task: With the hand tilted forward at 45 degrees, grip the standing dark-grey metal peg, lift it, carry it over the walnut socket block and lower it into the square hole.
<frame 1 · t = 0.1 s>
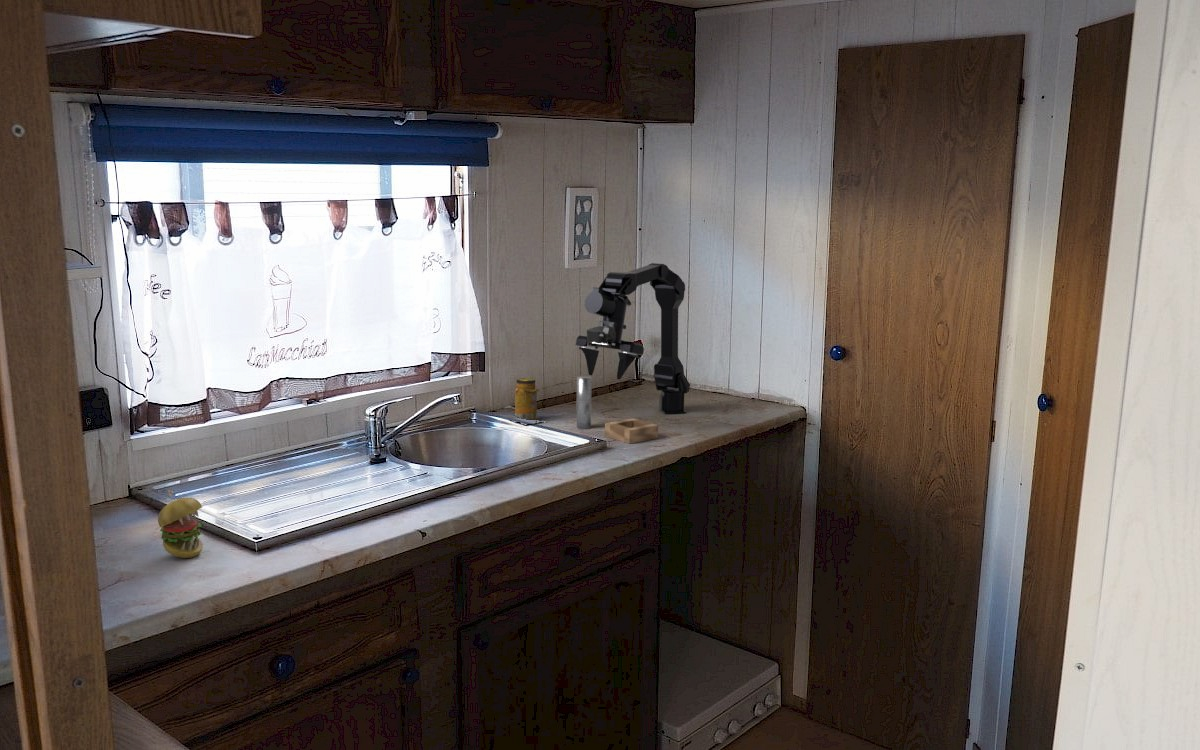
hand: (604, 377, 271), 15 cm above the worktop, tool pointing down, fingers open, 9 cm apart
condiment: (527, 422, 287), on the worktop
peg: (583, 427, 281), on the worktop
hamburger: (182, 556, 183), on the worktop
socket: (631, 437, 271), on the worktop
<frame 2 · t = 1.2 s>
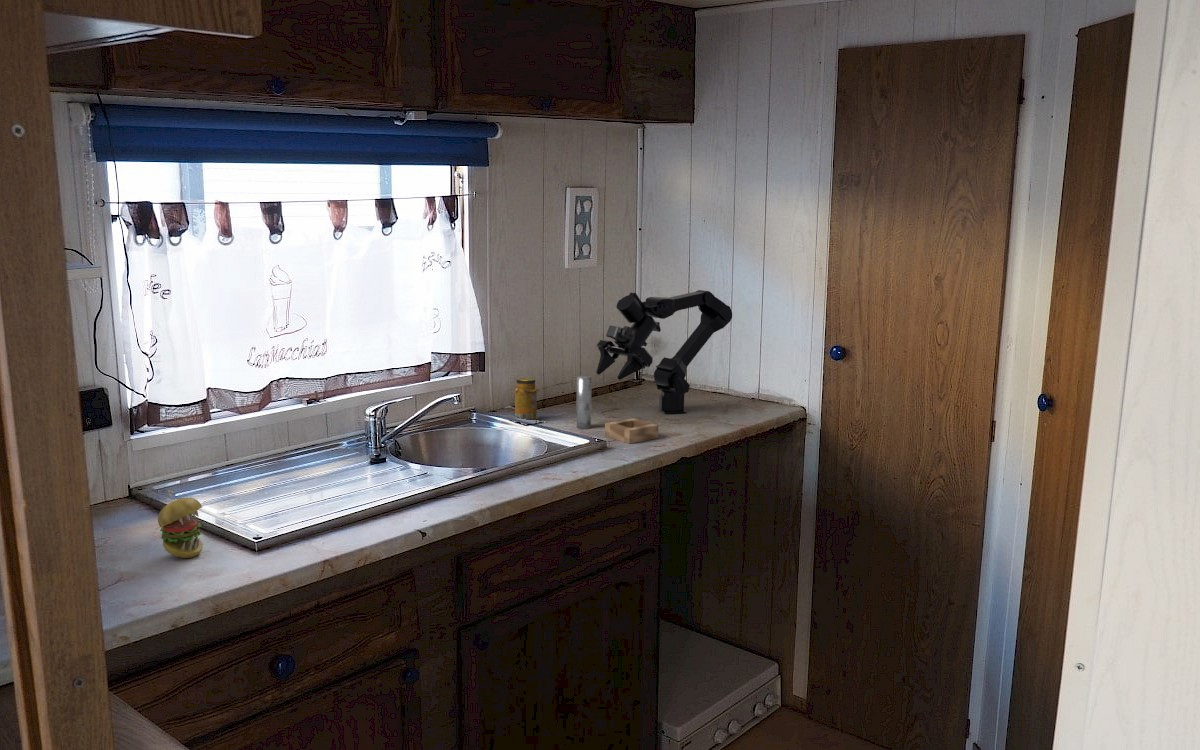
hand: (607, 376, 284), 13 cm above the worktop, tool tilted 45°, fingers open, 9 cm apart
nothing on the worktop moved.
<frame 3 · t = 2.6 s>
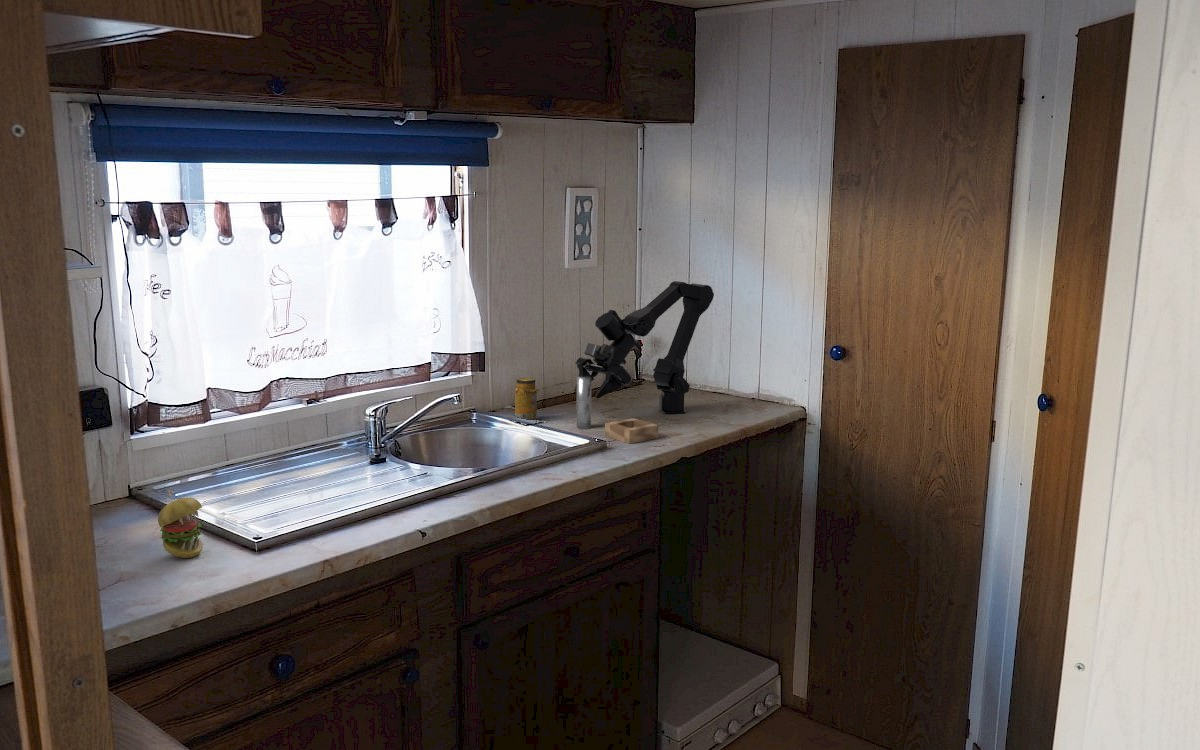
hand: (585, 394, 280), 9 cm above the worktop, tool tilted 45°, fingers open, 9 cm apart
nothing on the worktop moved.
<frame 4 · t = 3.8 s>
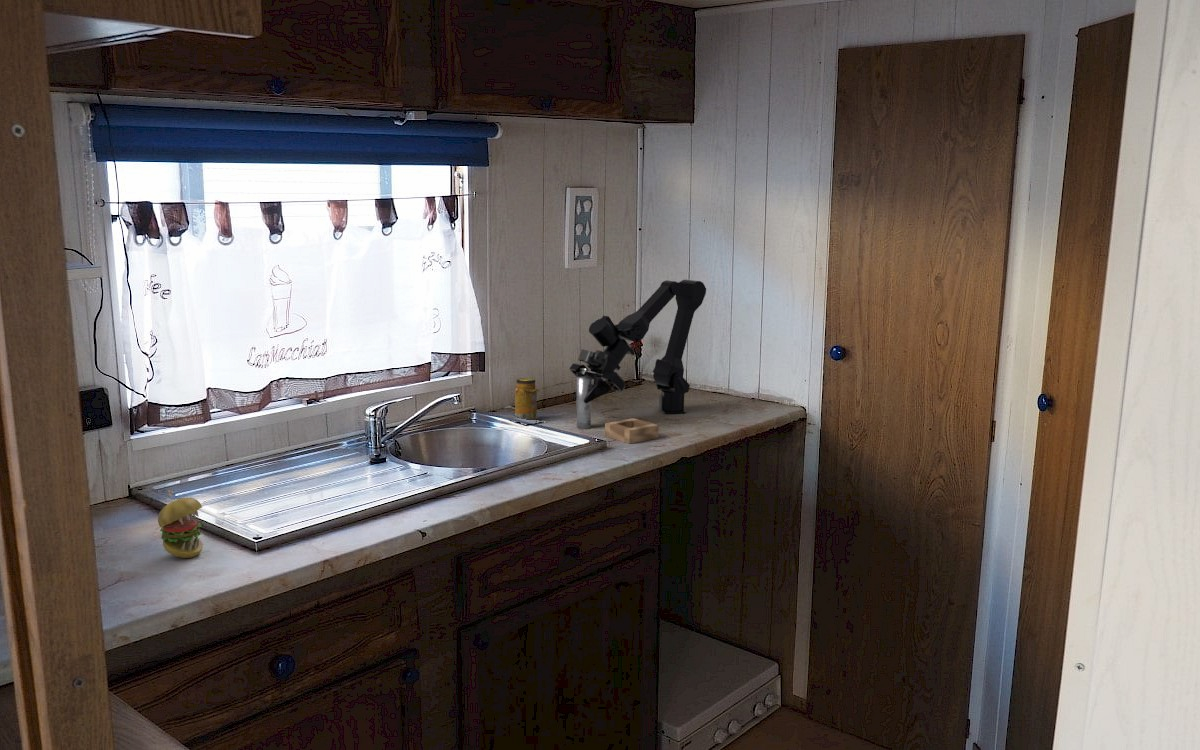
hand: (579, 401, 279), 8 cm above the worktop, tool tilted 45°, fingers closed on peg, 4 cm apart
peg: (583, 427, 281), on the worktop, touching gripper
everything else where it was.
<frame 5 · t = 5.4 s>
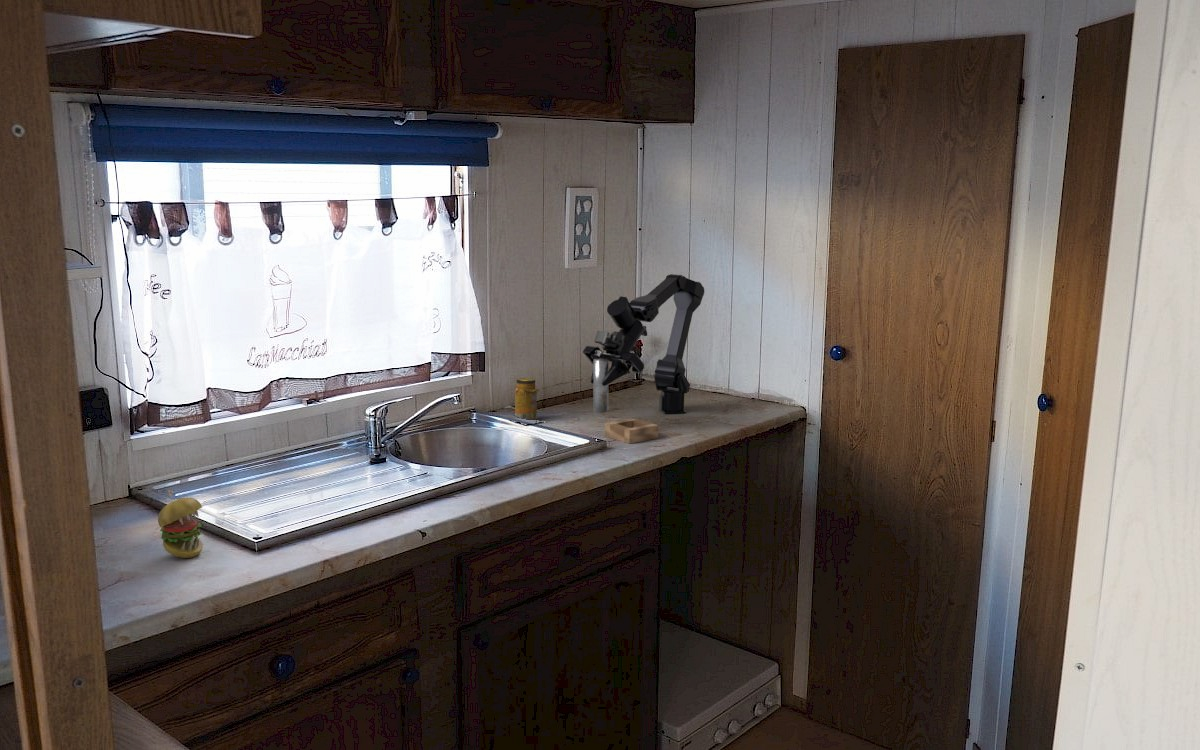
hand: (597, 383, 273), 13 cm above the worktop, tool tilted 45°, fingers closed on peg, 4 cm apart
peg: (600, 410, 275), point 6 cm above the worktop, touching gripper
everything else where it was.
when the fingers open (10 cm above the worktop, at t = 7.1 s): peg drops 2 cm, resting in socket.
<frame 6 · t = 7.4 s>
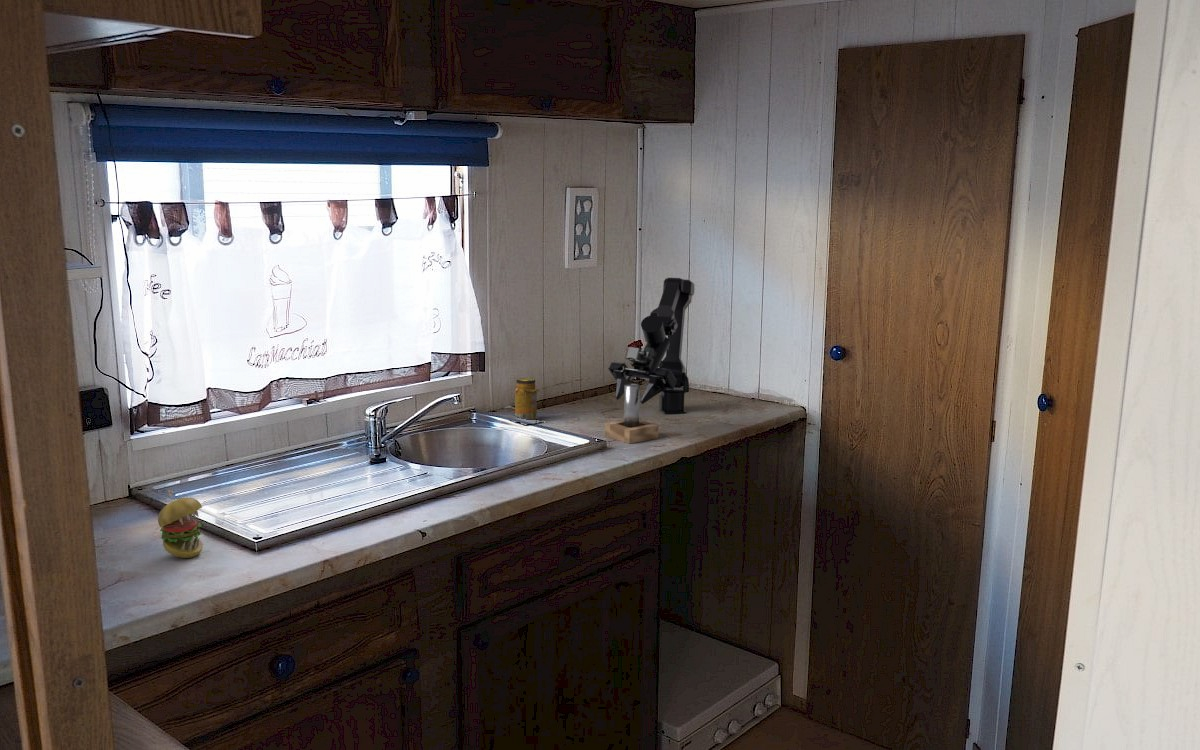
hand: (629, 400, 268), 10 cm above the worktop, tool tilted 45°, fingers open, 8 cm apart
peg: (631, 436, 271), resting in socket
everything else where it was.
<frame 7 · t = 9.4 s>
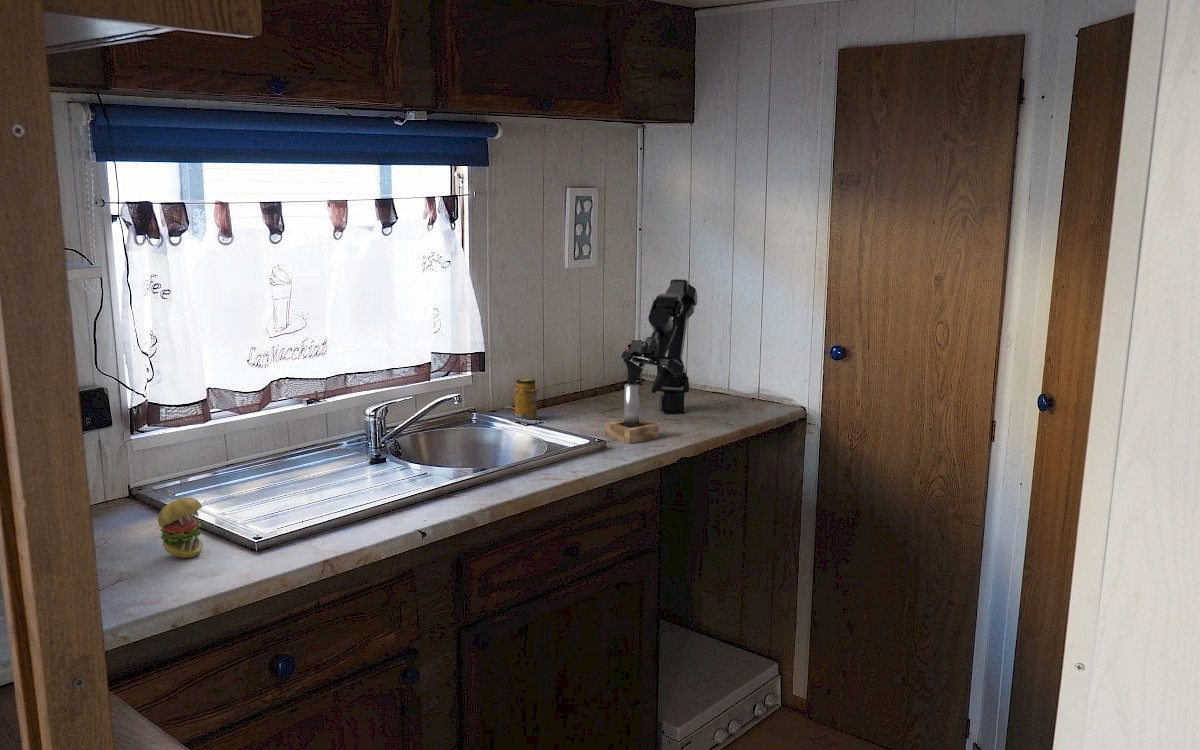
hand: (640, 390, 279), 10 cm above the worktop, tool tilted 30°, fingers open, 9 cm apart
nothing on the worktop moved.
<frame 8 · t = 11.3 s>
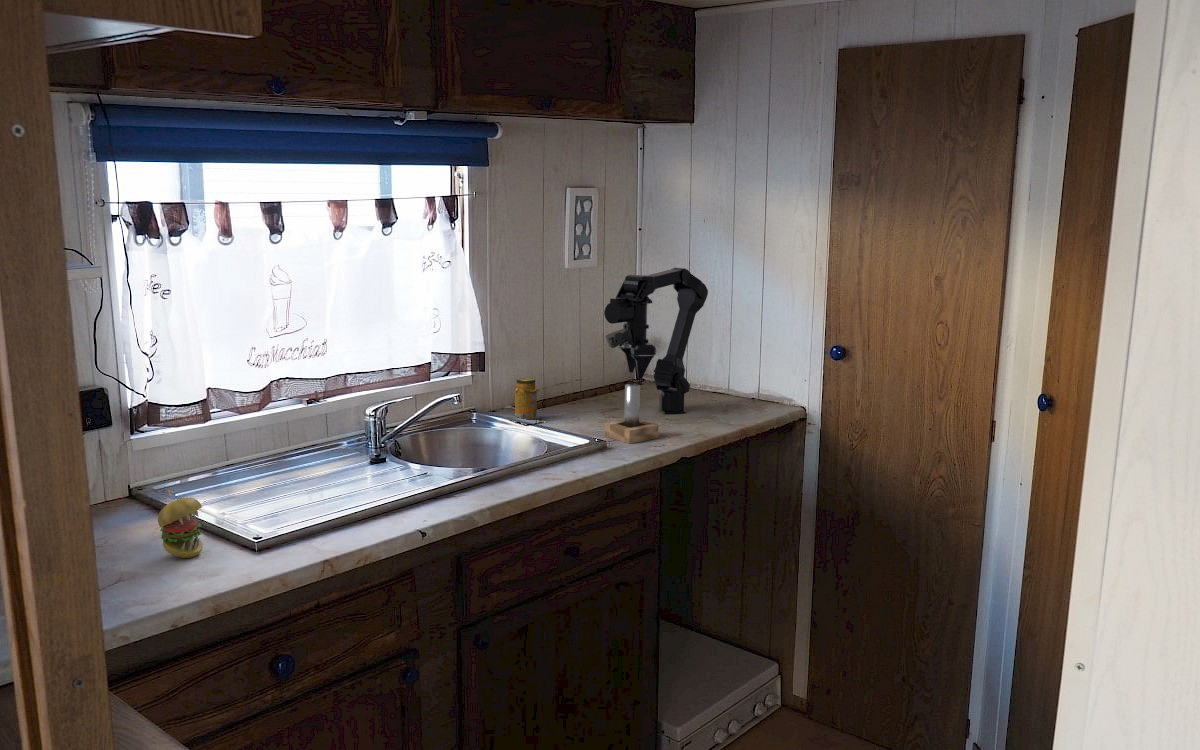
hand: (635, 375, 287), 13 cm above the worktop, tool pointing down, fingers open, 9 cm apart
nothing on the worktop moved.
at the end: peg 0.1 cm off-centre on the socket, point 0.0 cm above the socket's base; peg tilted 0°; the gripper is holding nothing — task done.
